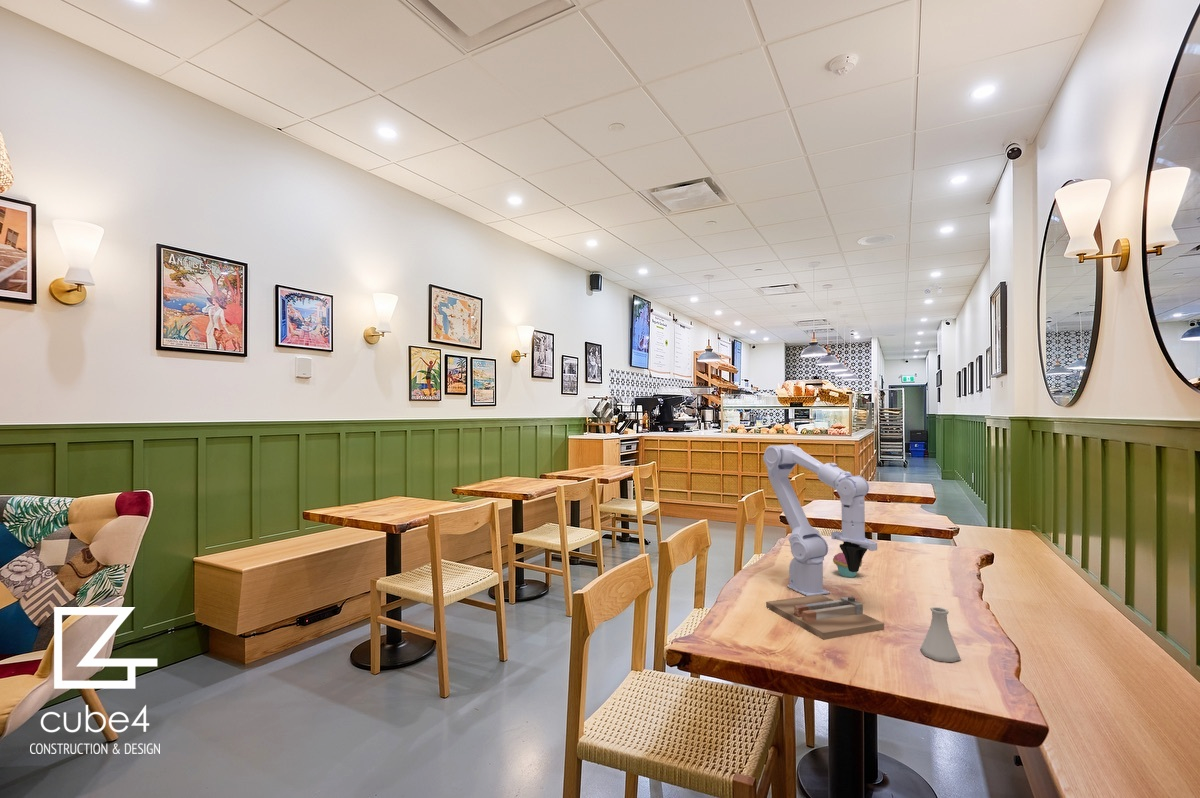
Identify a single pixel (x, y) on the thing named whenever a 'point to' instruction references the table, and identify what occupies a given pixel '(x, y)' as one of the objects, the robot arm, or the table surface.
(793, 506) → the robot arm
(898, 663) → the table surface
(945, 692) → the table surface
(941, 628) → the flask
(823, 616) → the tongs board
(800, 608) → the tong arm
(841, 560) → the cupcake
